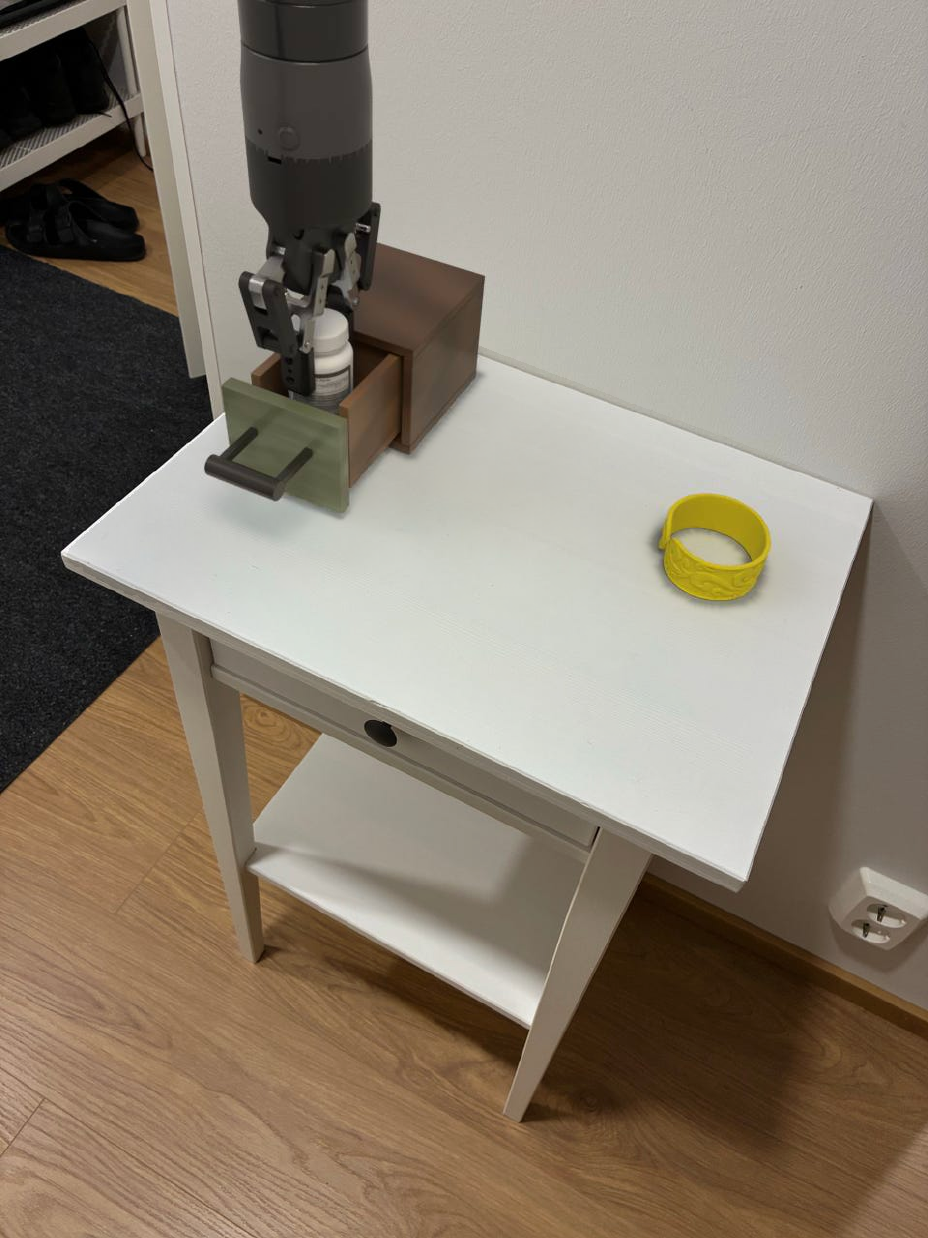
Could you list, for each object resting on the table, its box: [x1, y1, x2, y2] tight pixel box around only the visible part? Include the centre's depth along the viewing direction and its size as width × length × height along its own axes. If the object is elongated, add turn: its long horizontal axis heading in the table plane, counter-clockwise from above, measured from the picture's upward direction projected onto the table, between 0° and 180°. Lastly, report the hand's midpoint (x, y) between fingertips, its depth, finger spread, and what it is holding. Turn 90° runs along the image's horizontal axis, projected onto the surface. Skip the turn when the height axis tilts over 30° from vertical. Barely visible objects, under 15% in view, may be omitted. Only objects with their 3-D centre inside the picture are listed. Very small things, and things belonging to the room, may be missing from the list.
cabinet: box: [290, 241, 486, 455], centre depth 79 cm, size 13×11×10 cm
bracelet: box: [658, 492, 772, 602], centre depth 70 cm, size 7×8×3 cm
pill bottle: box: [288, 308, 353, 416], centre depth 70 cm, size 5×5×8 cm
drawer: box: [203, 340, 404, 515], centre depth 71 cm, size 17×9×8 cm, turn 154°
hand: (319, 371), depth 69 cm, fingers closed on pill bottle, 4 cm apart
